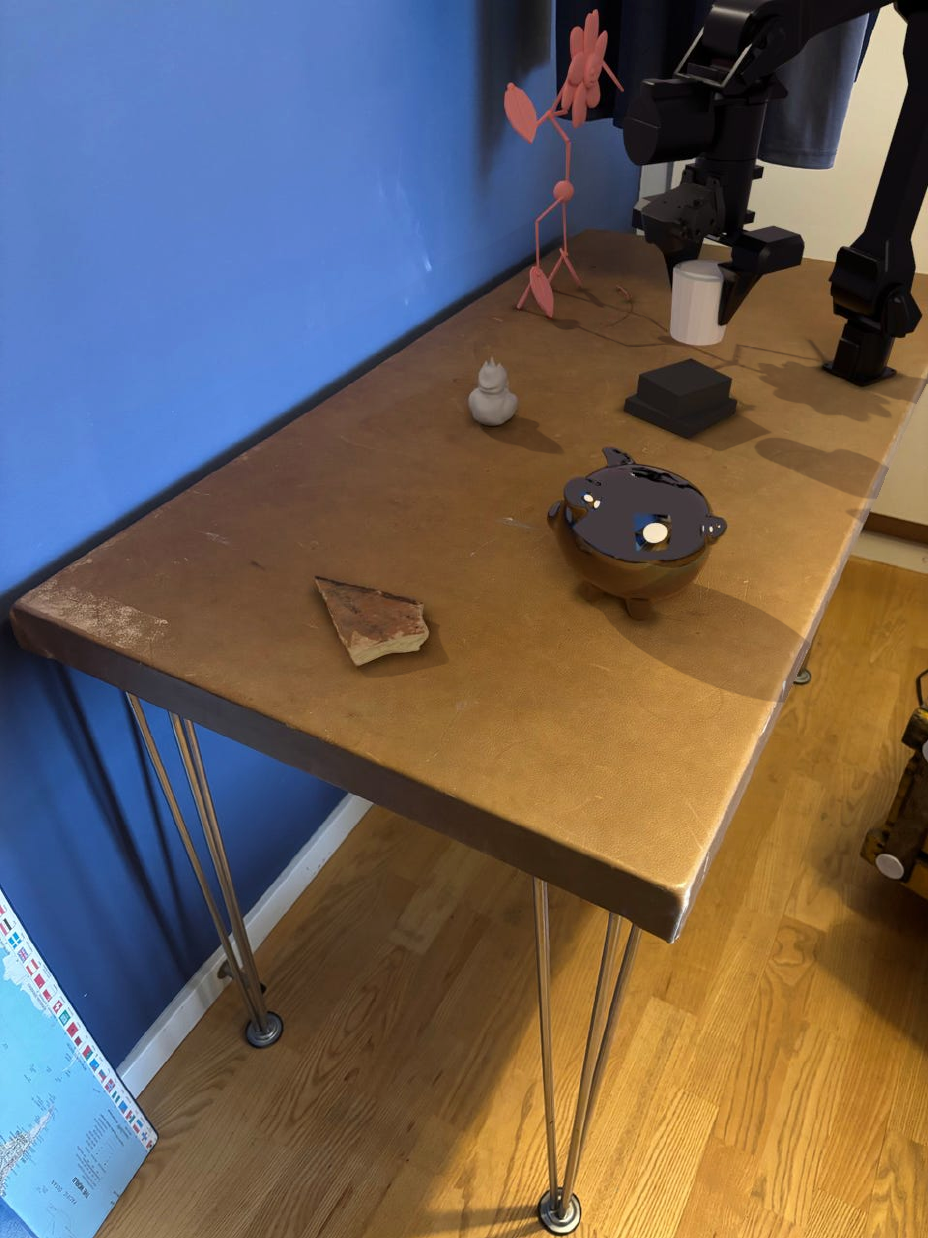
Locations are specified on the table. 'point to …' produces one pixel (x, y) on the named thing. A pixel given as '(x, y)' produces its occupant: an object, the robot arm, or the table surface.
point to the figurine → (522, 116)
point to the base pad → (685, 424)
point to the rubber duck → (492, 396)
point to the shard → (373, 620)
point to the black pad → (683, 388)
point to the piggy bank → (634, 531)
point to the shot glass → (696, 302)
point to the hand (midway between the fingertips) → (699, 314)
